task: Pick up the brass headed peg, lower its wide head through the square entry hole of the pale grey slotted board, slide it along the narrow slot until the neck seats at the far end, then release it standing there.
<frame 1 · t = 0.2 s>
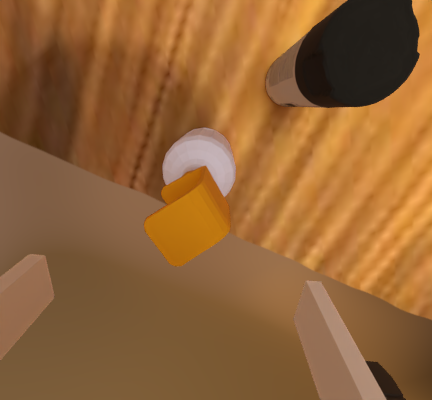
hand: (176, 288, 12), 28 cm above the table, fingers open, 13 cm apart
soap bottle: (204, 156, 37), on the table
spray can: (287, 81, 33), on the table
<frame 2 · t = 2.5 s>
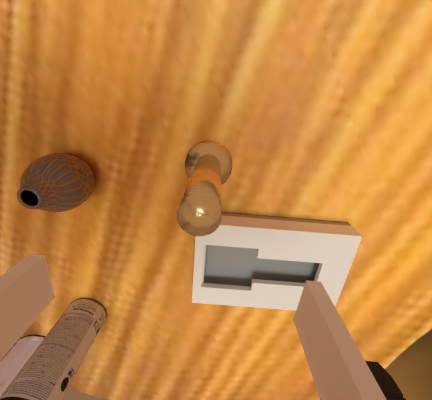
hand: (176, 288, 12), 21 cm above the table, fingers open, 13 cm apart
peg: (208, 164, 31), on the table
soap bottle: (42, 348, 46), on the table
vase: (78, 173, 32), on the table
spray can: (88, 309, 42), on the table
board: (265, 255, 36), on the table
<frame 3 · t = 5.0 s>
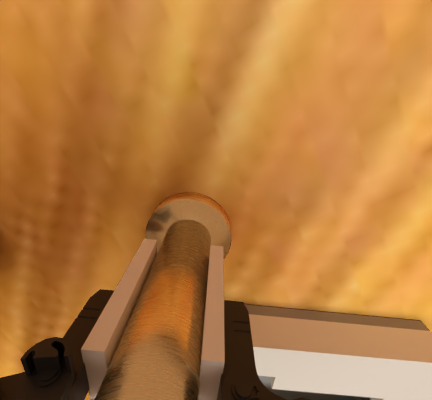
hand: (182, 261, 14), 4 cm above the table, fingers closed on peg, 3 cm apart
peg: (190, 229, 17), on the table, touching gripper
board: (282, 360, 23), on the table
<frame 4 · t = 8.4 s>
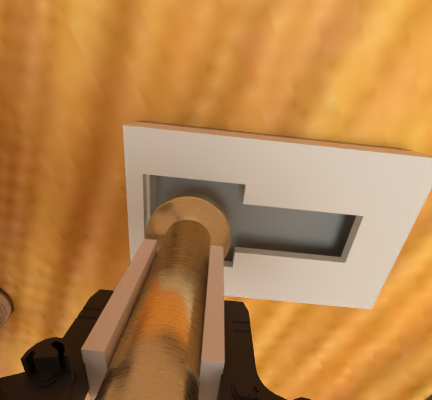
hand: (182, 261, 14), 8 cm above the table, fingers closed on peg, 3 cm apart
peg: (190, 229, 17), point 5 cm above the table, touching gripper
board: (259, 211, 22), on the table
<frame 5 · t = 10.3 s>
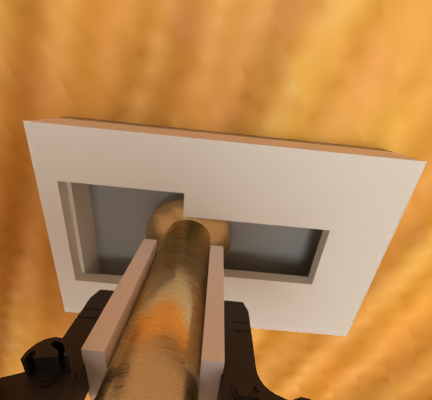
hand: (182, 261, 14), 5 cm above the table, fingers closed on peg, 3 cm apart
peg: (190, 229, 17), point 1 cm above the table, touching gripper
board: (216, 221, 19), on the table
when the fingers open (5 cm above the table, at t = 12.0 s): peg stays where it is, resting on board.
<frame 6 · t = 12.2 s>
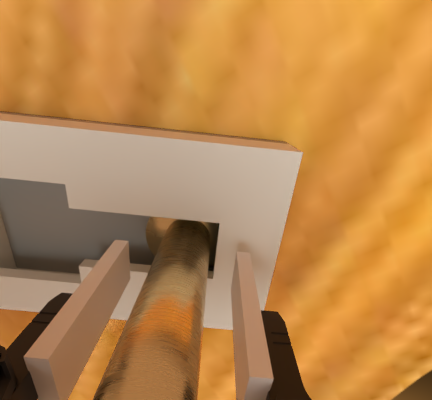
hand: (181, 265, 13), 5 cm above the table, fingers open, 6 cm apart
peg: (190, 228, 18), point 1 cm above the table, touching board
board: (130, 215, 18), on the table
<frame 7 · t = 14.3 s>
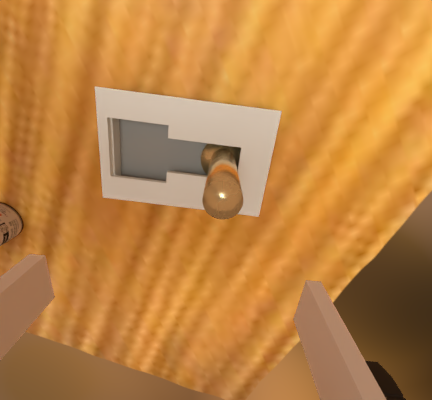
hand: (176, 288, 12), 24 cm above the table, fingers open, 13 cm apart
peg: (222, 158, 32), point 1 cm above the table, touching board
spray can: (4, 218, 38), on the table
board: (188, 152, 33), on the table
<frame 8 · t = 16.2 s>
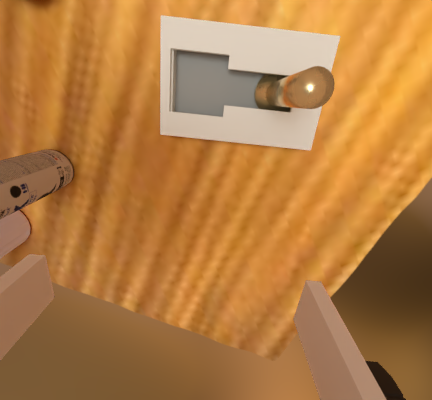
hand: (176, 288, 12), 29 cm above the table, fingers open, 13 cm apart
peg: (275, 94, 33), point 1 cm above the table, touching board
soap bottle: (8, 222, 44), on the table
spray can: (55, 167, 40), on the table
board: (240, 90, 34), on the table
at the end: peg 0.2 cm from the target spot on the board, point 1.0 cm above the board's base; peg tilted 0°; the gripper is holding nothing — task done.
